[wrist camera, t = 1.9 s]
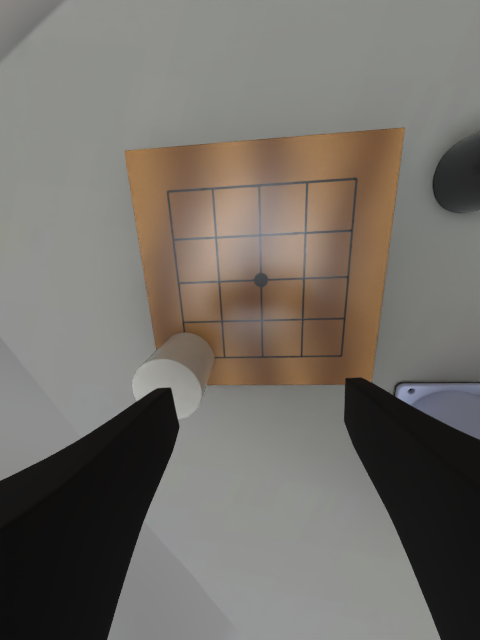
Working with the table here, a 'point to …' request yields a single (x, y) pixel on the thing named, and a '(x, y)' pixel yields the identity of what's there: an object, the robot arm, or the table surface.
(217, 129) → the table surface
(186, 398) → the white stone
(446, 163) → the dark grey cylinder
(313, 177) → the go board
